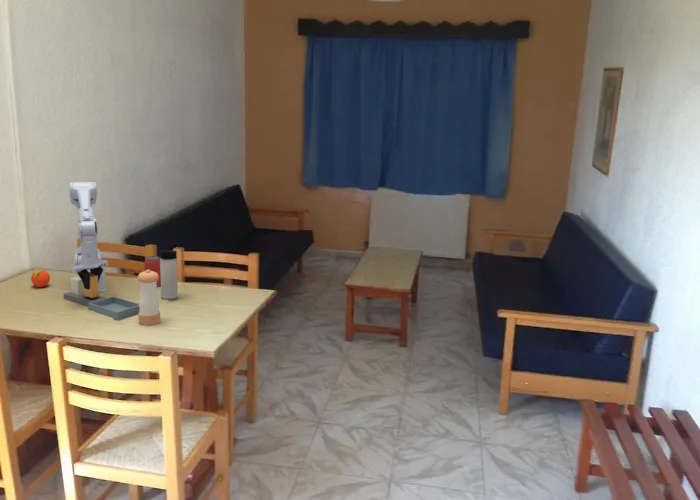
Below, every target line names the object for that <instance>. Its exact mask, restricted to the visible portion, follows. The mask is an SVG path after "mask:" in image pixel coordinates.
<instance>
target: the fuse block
mask: <svg viewBox="0 0 700 500" xmlns="http://www.w3.org/2000/svg"><path fill="white" fill-rule="evenodd" d="M105 298H107V297H105V296H103V295H99V296H97V297H94V298H90V297H87V296H84V295H81V296H76V295H73V294H71V291H69V292H63V299H64V300H66V301H70V302H73V303H76V304H77V305H78V304H79V305H82V306H85V307H88V303H91V302H94V301H98V300H101V299H105Z"/></svg>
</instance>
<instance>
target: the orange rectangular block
mask: <svg viewBox="0 0 700 500" xmlns="http://www.w3.org/2000/svg"><path fill="white" fill-rule="evenodd" d="M99 294H100V292H99V291H98V276H97V275H94V274H91V275H90V288H89V289H85V288H84V296H87V297H90V298H94V297H97V296H100V295H99Z"/></svg>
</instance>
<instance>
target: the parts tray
mask: <svg viewBox="0 0 700 500" xmlns="http://www.w3.org/2000/svg"><path fill="white" fill-rule="evenodd" d="M87 307H88V311H92V312H94V313H98V314H100V315H103V316H107V317H109V318H112V319H113V320H115V321H120V320H121V321H122V320H124V319H126V318H130V317H132V316H133V317H134V316H136V315H139V312H140V310H139V303H138V302H135V301H131V300H128V299H124V298H121V297H118V296H114V295H112V296H111V295H110V296H109V297H106V298H105V299H101V300H98V301H94V302H91V303H88V306H87Z"/></svg>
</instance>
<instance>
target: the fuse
mask: <svg viewBox="0 0 700 500" xmlns="http://www.w3.org/2000/svg"><path fill="white" fill-rule="evenodd" d="M69 279H70V281H69V282H70V292H71V294H73V295H76V296H81V295H84V285H83V282H82V280H81V278H80V277H79V276H74V277H70V278H69Z"/></svg>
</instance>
